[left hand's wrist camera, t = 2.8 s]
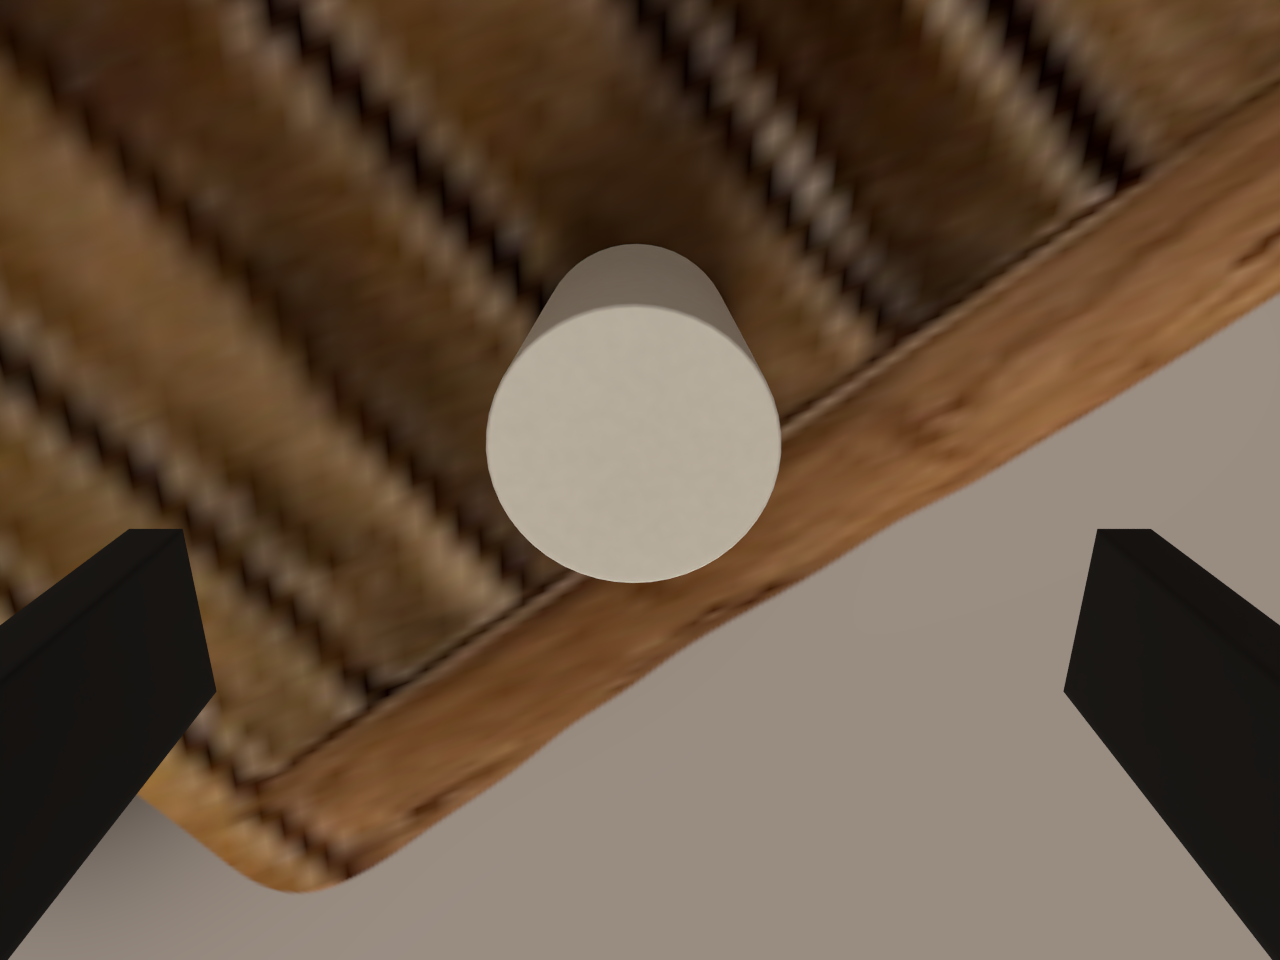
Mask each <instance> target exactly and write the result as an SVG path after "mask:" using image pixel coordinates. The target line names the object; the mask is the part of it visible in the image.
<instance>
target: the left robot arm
mask: <svg viewBox="0 0 1280 960" xmlns="http://www.w3.org/2000/svg"><path fill="white" fill-rule="evenodd" d="M215 693H216V687H215V682H214V677H213V673H212V668H211V663H210V658H209V653H208V649H207V644H206V639H205V634H204V630H203V625H202V620H201V615H200V610H199V606H198V601H197V596H196V591H195V586H194V582H193V577H192V572H191V567H190V562H189V558H188V553H187V548H186V543H185V539H184V534H183V529H128V530H127V531H126V532H124V533H123V534H122V535H120V536H119V537H118V538H116V539H115V540H114V541H112V542H111V543H110V544H108V545H107V546H106V547H104V548H103V549H102V550H100V551H99V552H98V553H96V554H95V555H94V556H92V557H91V558H90V559H88V560H87V561H86V562H84V563H83V564H82V565H80V566H79V567H78V568H76V569H75V570H74V571H72V572H71V573H70V574H68V575H67V576H66V577H64V578H63V579H62V580H60V581H59V582H58V583H56V584H55V585H54V586H52V587H51V588H50V589H48V590H47V591H46V592H44V593H43V594H42V595H40V596H39V597H38V598H36V599H35V600H34V601H32V602H31V603H30V604H28V605H27V606H26V607H24V608H23V609H22V610H20V611H19V612H18V613H16V614H15V615H14V616H12V617H11V618H10V619H8V620H7V621H6V622H4V623H3V624H2V625H0V960H8V959H9V957H10V956H11V955H12V954H13V952H14V951H15V950H16V948H17V947H18V946H19V945H20V943H21V942H22V941H23V939H24V938H25V937H26V936H27V934H28V933H29V932H30V930H31V929H32V928H33V927H34V925H35V924H36V923H37V921H38V920H39V919H40V918H41V916H42V915H43V914H44V912H45V911H46V910H47V909H48V907H49V906H50V905H51V903H52V902H53V901H54V900H55V898H56V897H57V896H58V894H59V893H60V892H61V891H62V889H63V888H64V887H65V885H66V884H67V883H68V882H69V880H70V879H71V878H72V876H73V875H74V874H75V873H76V871H77V870H78V869H79V867H80V866H81V865H82V864H83V862H84V861H85V860H86V858H87V857H88V856H89V855H90V853H91V852H92V851H93V849H94V848H95V847H96V846H97V844H98V843H99V842H100V840H101V839H102V838H103V837H104V835H105V834H106V833H107V831H108V830H109V829H110V828H111V826H112V825H113V824H114V822H115V821H116V820H117V819H118V817H119V816H120V815H121V813H122V812H123V811H124V810H125V808H126V807H127V806H128V804H129V803H130V802H131V801H132V799H133V798H134V797H135V795H136V794H137V793H138V792H139V790H140V789H141V788H142V786H143V785H144V784H145V783H146V781H147V780H148V779H149V777H150V776H151V775H152V774H153V772H154V771H155V770H156V768H157V767H158V766H159V765H160V763H161V762H162V761H163V759H164V758H165V757H166V756H167V754H168V753H169V752H170V750H171V749H172V748H173V747H174V745H175V744H176V743H177V741H178V740H179V739H180V738H181V736H182V735H183V734H184V732H185V731H186V730H187V729H188V727H189V726H190V725H191V723H192V722H193V721H194V720H195V718H196V717H197V716H198V714H199V713H200V712H201V711H202V709H203V708H204V707H205V705H206V704H207V703H208V702H209V700H210V699H211V698H212V696H213V695H214V694H215ZM1064 693H1065V694H1066V695H1067V696H1068V698H1069V699H1070V700H1071V702H1072V703H1073V704H1074V705H1075V707H1076V708H1077V709H1078V711H1079V712H1080V713H1081V714H1082V716H1083V717H1084V718H1085V720H1086V721H1087V722H1088V723H1089V725H1090V726H1091V727H1092V729H1093V730H1094V731H1095V732H1096V734H1097V735H1098V736H1099V738H1100V739H1101V740H1102V741H1103V743H1104V744H1105V745H1106V747H1107V748H1108V749H1109V750H1110V752H1111V753H1112V754H1113V756H1114V757H1115V758H1116V759H1117V761H1118V762H1119V763H1120V765H1121V766H1122V767H1123V768H1124V770H1125V771H1126V772H1127V774H1128V775H1129V776H1130V777H1131V779H1132V780H1133V781H1134V783H1135V784H1136V785H1137V786H1138V788H1139V789H1140V790H1141V792H1142V793H1143V794H1144V795H1145V797H1146V798H1147V799H1148V801H1149V802H1150V803H1151V804H1152V806H1153V807H1154V808H1155V810H1156V811H1157V812H1158V813H1159V815H1160V816H1161V817H1162V819H1163V820H1164V821H1165V822H1166V824H1167V825H1168V826H1169V828H1170V829H1171V830H1172V831H1173V833H1174V834H1175V835H1176V837H1177V838H1178V839H1179V840H1180V842H1181V843H1182V844H1183V846H1184V847H1185V848H1186V849H1187V851H1188V852H1189V853H1190V855H1191V856H1192V857H1193V858H1194V860H1195V861H1196V862H1197V864H1198V865H1199V866H1200V867H1201V869H1202V870H1203V871H1204V873H1205V874H1206V875H1207V876H1208V878H1209V879H1210V880H1211V882H1212V883H1213V884H1214V885H1215V887H1216V888H1217V889H1218V891H1219V892H1220V893H1221V894H1222V896H1223V897H1224V898H1225V900H1226V901H1227V902H1228V903H1229V905H1230V906H1231V907H1232V909H1233V910H1234V911H1235V912H1236V914H1237V915H1238V916H1239V918H1240V919H1241V920H1242V921H1243V923H1244V924H1245V925H1246V927H1247V928H1248V929H1249V930H1250V932H1251V933H1252V934H1253V936H1254V937H1255V938H1256V939H1257V941H1258V942H1259V943H1260V945H1261V946H1262V947H1263V948H1264V950H1265V951H1266V952H1267V954H1268V955H1269V956H1270V957H1271V959H1272V960H1280V625H1278V624H1277V623H1276V622H1274V621H1273V620H1272V619H1270V618H1269V617H1268V616H1266V615H1265V614H1264V613H1262V612H1261V611H1260V610H1258V609H1257V608H1256V607H1254V606H1253V605H1252V604H1250V603H1249V602H1248V601H1246V600H1245V599H1244V598H1242V597H1241V596H1240V595H1238V594H1237V593H1236V592H1234V591H1233V590H1232V589H1230V588H1229V587H1228V586H1226V585H1225V584H1224V583H1222V582H1221V581H1220V580H1218V579H1217V578H1216V577H1214V576H1213V575H1212V574H1210V573H1209V572H1208V571H1206V570H1205V569H1203V568H1202V567H1201V566H1200V565H1198V564H1197V563H1196V562H1194V561H1193V560H1192V559H1190V558H1189V557H1188V556H1186V555H1185V554H1184V553H1182V552H1181V551H1180V550H1178V549H1177V548H1176V547H1174V546H1173V545H1172V544H1170V543H1169V542H1168V541H1166V540H1165V539H1164V538H1162V537H1161V536H1160V535H1158V534H1157V533H1156V532H1154V531H1153V530H1151V529H1097V534H1096V538H1095V543H1094V548H1093V553H1092V558H1091V562H1090V567H1089V572H1088V577H1087V582H1086V586H1085V591H1084V596H1083V601H1082V606H1081V610H1080V615H1079V620H1078V625H1077V629H1076V634H1075V639H1074V644H1073V649H1072V653H1071V658H1070V663H1069V668H1068V673H1067V677H1066V682H1065V687H1064Z"/></svg>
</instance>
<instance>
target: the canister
mask: <svg viewBox="0 0 1280 960" xmlns="http://www.w3.org/2000/svg"><path fill="white" fill-rule="evenodd" d="M486 453H487V461H488V468H489V472H490V476H491V480H492V483H493V486H494V489H495V491H496V494H497V496H498V498H499V501H500V503H501V505H502V506H503V508H504V510H505V511H506V513H507V515H508V517H509V518H510V519H511V521H512V522H513V523H514V525H515V526H516V527H517V528H518V530H519V531H520V532H521V533H522V534H523V535H524V536H525V537H526V538H527V539H528V540H529V541H530V542H531V543H532V544H533V545H534V546H535V547H536V548H538V549H539V550H540V551H542V552H543V553H544V554H545V555H547V556H548V557H550V558H551V559H553V560H555V561H556V562H558V563H560V564H561V565H563V566H565V567H567V568H570V569H572V570H574V571H576V572H579V573H581V574H585V575H588V576H591V577H594V578H598V579H604V580H609V581H614V582H629V583H638V582H653V581H659V580H665V579H670V578H673V577H677V576H680V575H684V574H687V573H689V572H691V571H694V570H696V569H698V568H701V567H703V566H705V565H706V564H708V563H710V562H712V561H713V560H715V559H717V558H718V557H720V556H721V555H722V554H724V553H725V552H726V551H728V550H729V549H730V548H732V547H733V546H734V545H735V544H736V543H737V542H738V541H739V540H740V539H741V538H742V537H743V536H744V535H745V534H746V533H747V532H748V531H749V529H750V528H751V527H752V526H753V524H754V523H755V522H756V521H757V519H758V518H759V516H760V514H761V513H762V511H763V509H764V508H765V506H766V504H767V502H768V500H769V497H770V495H771V493H772V491H773V488H774V485H775V481H776V478H777V474H778V471H779V464H780V457H781V429H780V422H779V415H778V412H777V408H776V405H775V401H774V398H773V395H772V393H771V391H770V389H769V386H768V384H767V382H766V380H765V378H764V376H763V374H762V372H761V370H760V368H759V367H758V365H757V363H756V361H755V359H754V357H753V355H752V353H751V352H750V350H749V348H748V346H747V344H746V342H745V340H744V338H743V336H742V335H741V333H740V331H739V329H738V327H737V325H736V323H735V321H734V320H733V318H732V316H731V314H730V312H729V310H728V308H727V306H726V305H725V303H724V301H723V299H722V297H721V295H720V293H719V292H718V290H717V289H716V287H715V285H714V284H713V282H712V281H711V280H710V279H709V278H708V276H707V275H706V274H705V273H704V272H703V271H702V270H701V269H700V268H699V267H698V266H696V265H695V264H694V263H692V262H691V261H690V260H688V259H687V258H685V257H683V256H681V255H679V254H677V253H676V252H673V251H670V250H668V249H665V248H662V247H657V246H653V245H645V244H626V245H620V246H614V247H610V248H607V249H604V250H601V251H599V252H597V253H595V254H593V255H591V256H589V257H587V258H586V259H584V260H583V261H581V262H580V263H578V264H577V265H576V266H575V267H574V268H572V269H571V270H570V271H569V272H568V273H567V274H566V275H565V277H564V278H563V279H562V280H561V281H560V282H559V284H558V286H557V287H556V289H555V290H554V292H553V294H552V295H551V297H550V299H549V300H548V302H547V304H546V305H545V307H544V309H543V310H542V312H541V314H540V315H539V317H538V319H537V320H536V322H535V324H534V326H533V327H532V329H531V331H530V332H529V334H528V336H527V337H526V339H525V341H524V342H523V344H522V346H521V347H520V349H519V351H518V353H517V354H516V356H515V358H514V359H513V361H512V363H511V364H510V366H509V368H508V369H507V371H506V373H505V374H504V376H503V378H502V380H501V382H500V384H499V386H498V389H497V391H496V393H495V395H494V398H493V402H492V405H491V408H490V412H489V417H488V423H487V430H486Z"/></svg>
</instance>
